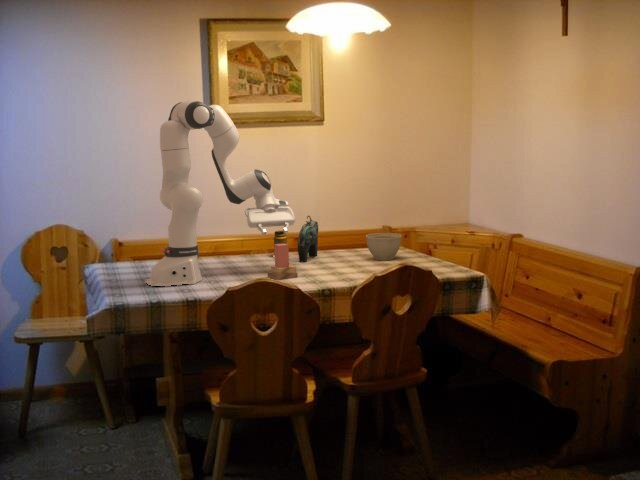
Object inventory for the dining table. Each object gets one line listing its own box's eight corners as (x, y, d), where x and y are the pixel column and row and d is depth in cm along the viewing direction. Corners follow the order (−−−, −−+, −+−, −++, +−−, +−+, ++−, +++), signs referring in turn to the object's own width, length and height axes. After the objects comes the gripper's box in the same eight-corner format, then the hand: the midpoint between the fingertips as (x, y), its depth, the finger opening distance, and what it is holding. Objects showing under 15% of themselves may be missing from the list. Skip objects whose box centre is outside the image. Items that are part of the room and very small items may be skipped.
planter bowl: (358, 259, 351) (358, 235, 350) (383, 254, 362) (382, 231, 360) (384, 263, 340) (384, 239, 338) (408, 258, 350) (408, 235, 349)
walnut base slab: (277, 281, 307) (277, 275, 306) (267, 277, 314) (267, 271, 314) (297, 278, 311) (297, 272, 311) (287, 275, 319) (287, 269, 319)
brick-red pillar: (278, 267, 309) (278, 245, 308) (274, 266, 313) (274, 244, 312) (289, 266, 311) (288, 244, 310) (284, 265, 315) (284, 243, 314)
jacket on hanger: (309, 255, 364) (308, 213, 362) (322, 255, 362) (321, 213, 360) (295, 262, 346) (294, 218, 343) (308, 263, 344) (307, 218, 341)
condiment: (290, 256, 362) (289, 231, 361) (275, 258, 358) (274, 233, 356) (282, 254, 368) (282, 229, 367) (267, 256, 364) (266, 231, 362)
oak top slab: (279, 274, 307) (279, 268, 307) (271, 272, 314) (270, 266, 313) (295, 272, 311) (295, 266, 311) (287, 270, 318) (287, 264, 317)
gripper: (245, 203, 318) (252, 229, 310) (291, 201, 325) (299, 226, 318) (242, 213, 323) (249, 239, 315) (288, 210, 330) (296, 236, 323)
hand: (275, 233), depth 317 cm, fingers open, 8 cm apart
